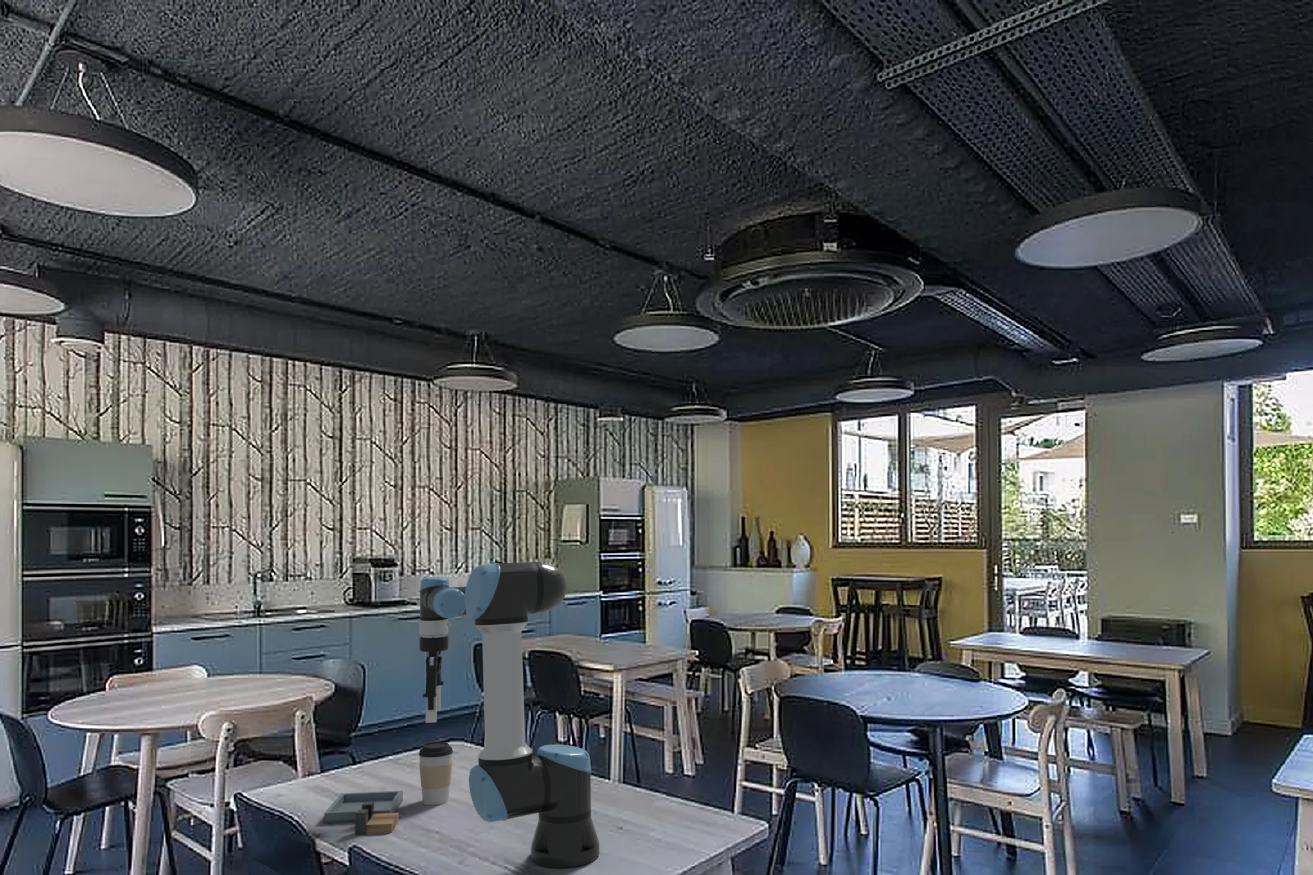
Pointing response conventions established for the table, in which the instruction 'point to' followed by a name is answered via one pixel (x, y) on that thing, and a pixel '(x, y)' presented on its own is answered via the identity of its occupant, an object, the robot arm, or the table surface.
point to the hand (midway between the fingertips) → (433, 716)
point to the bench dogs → (363, 817)
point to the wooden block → (382, 823)
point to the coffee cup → (435, 772)
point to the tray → (352, 802)
